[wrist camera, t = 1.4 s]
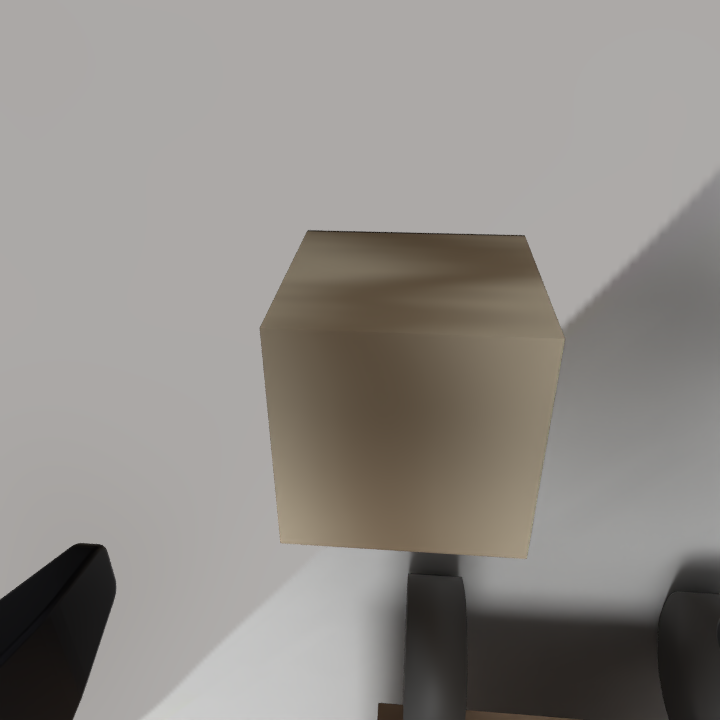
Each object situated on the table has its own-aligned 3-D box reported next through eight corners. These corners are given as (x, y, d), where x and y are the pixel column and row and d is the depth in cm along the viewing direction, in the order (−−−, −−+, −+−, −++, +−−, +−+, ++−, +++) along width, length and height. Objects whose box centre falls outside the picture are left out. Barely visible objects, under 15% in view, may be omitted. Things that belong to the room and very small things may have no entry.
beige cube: (524, 235, 15) (565, 338, 10) (501, 414, 17) (526, 558, 13) (307, 230, 15) (260, 327, 11) (316, 406, 18) (280, 543, 13)
